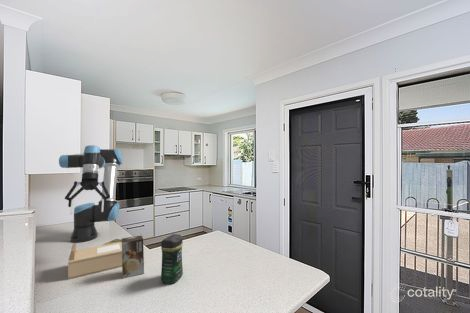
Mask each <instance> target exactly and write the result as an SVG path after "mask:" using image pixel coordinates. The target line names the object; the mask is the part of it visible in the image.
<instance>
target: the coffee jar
mask: <svg viewBox="0 0 470 313" xmlns="http://www.w3.org/2000/svg"><path fill="white" fill-rule="evenodd" d="M160 246H161V247H160V248H161V271H160V273H161V274H160V280H161V282H162V283H164V284H174V283H176V282H177V281H179V280H180V279H181V278H182V276H183V275H184V272H183V269H184V268H183V236H182V235H181V234H177V233H172V234H170V235H169V236H167V237H165V238H164V239H162V240H161V245H160Z"/></svg>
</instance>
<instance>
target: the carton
mask: <svg viewBox="0 0 470 313" xmlns="http://www.w3.org/2000/svg"><path fill="white" fill-rule="evenodd" d="M117 242H122V238H115V239H112V240H110V241H108V242H106V243H104V244H102V245H106V244H112V243H117Z"/></svg>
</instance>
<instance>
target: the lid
mask: <svg viewBox="0 0 470 313" xmlns="http://www.w3.org/2000/svg"><path fill="white" fill-rule="evenodd" d="M120 252H122V242H117V243H112V244H106V245H103V244H101V245H97V246H92V247H91V246H90V247H85V248H81V249H77V242H72V247H71V249H70V254H69V257H68V261H67V264H68V263H72V262H77V261H82V260H87V259H92V258H96V257H101V256H106V255H111V254H116V253H120Z"/></svg>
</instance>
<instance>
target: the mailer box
mask: <svg viewBox="0 0 470 313" xmlns="http://www.w3.org/2000/svg"><path fill="white" fill-rule="evenodd" d="M118 268H122V252H120V253H116V254H111V255H106V256H101V257H96V258H92V259H87V260H82V261H77V262H72V263H68V262H67V280H68V281H69V280H72V279H77V278H80V277H85V276H89V275H94V274H97V273H102V272H105V271H111V270H115V269H118Z"/></svg>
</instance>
